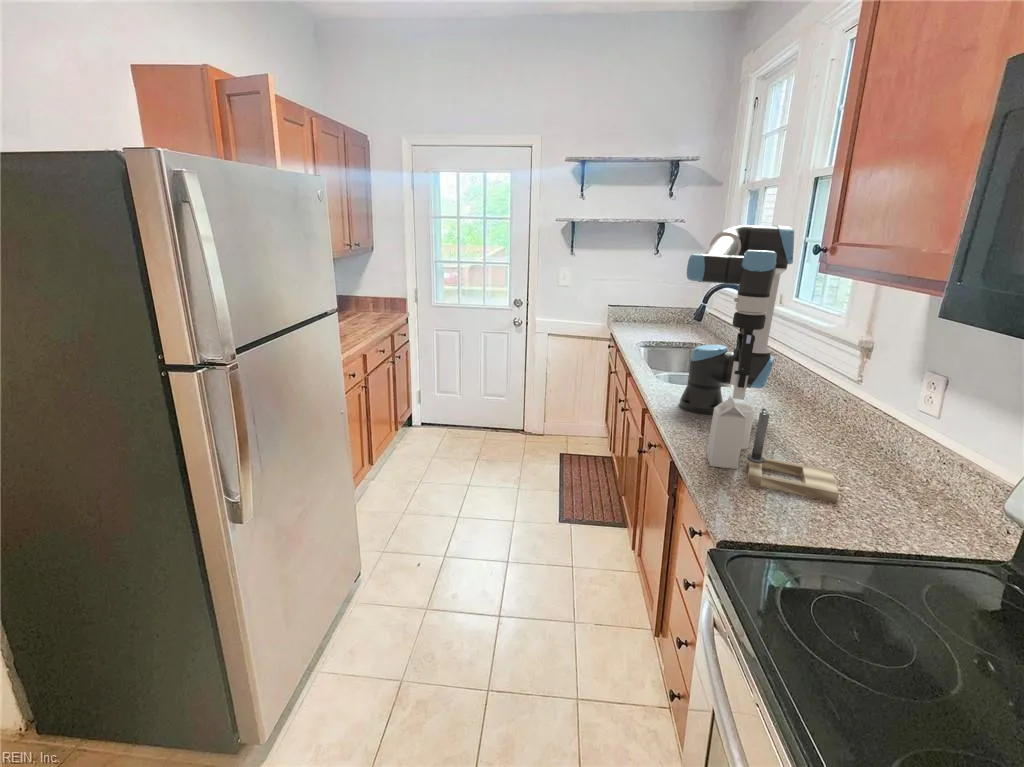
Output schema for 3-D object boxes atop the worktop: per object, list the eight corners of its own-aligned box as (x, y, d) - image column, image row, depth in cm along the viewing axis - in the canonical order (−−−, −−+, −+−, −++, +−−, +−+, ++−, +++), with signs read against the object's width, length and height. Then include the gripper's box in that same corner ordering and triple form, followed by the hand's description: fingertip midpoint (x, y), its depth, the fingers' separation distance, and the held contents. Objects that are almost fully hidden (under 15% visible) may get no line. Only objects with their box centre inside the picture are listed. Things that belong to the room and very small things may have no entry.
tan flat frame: (748, 462, 144) (750, 454, 144) (829, 478, 137) (831, 470, 136) (747, 483, 132) (749, 474, 132) (836, 502, 124) (838, 493, 124)
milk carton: (732, 459, 146) (743, 396, 141) (737, 469, 140) (749, 404, 134) (706, 456, 148) (716, 394, 142) (710, 466, 141) (720, 402, 135)
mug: (710, 446, 154) (716, 409, 151) (706, 435, 162) (711, 400, 159) (751, 451, 152) (758, 413, 149) (745, 440, 160) (751, 404, 157)
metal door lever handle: (746, 459, 146) (755, 407, 142) (762, 462, 145) (773, 409, 140) (745, 469, 140) (755, 415, 135) (763, 472, 138) (773, 418, 134)
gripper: (732, 305, 143) (720, 377, 149) (737, 318, 120) (723, 403, 127) (761, 307, 140) (748, 381, 147) (772, 321, 118) (756, 407, 124)
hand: (736, 391), depth 137 cm, fingers open, 13 cm apart
